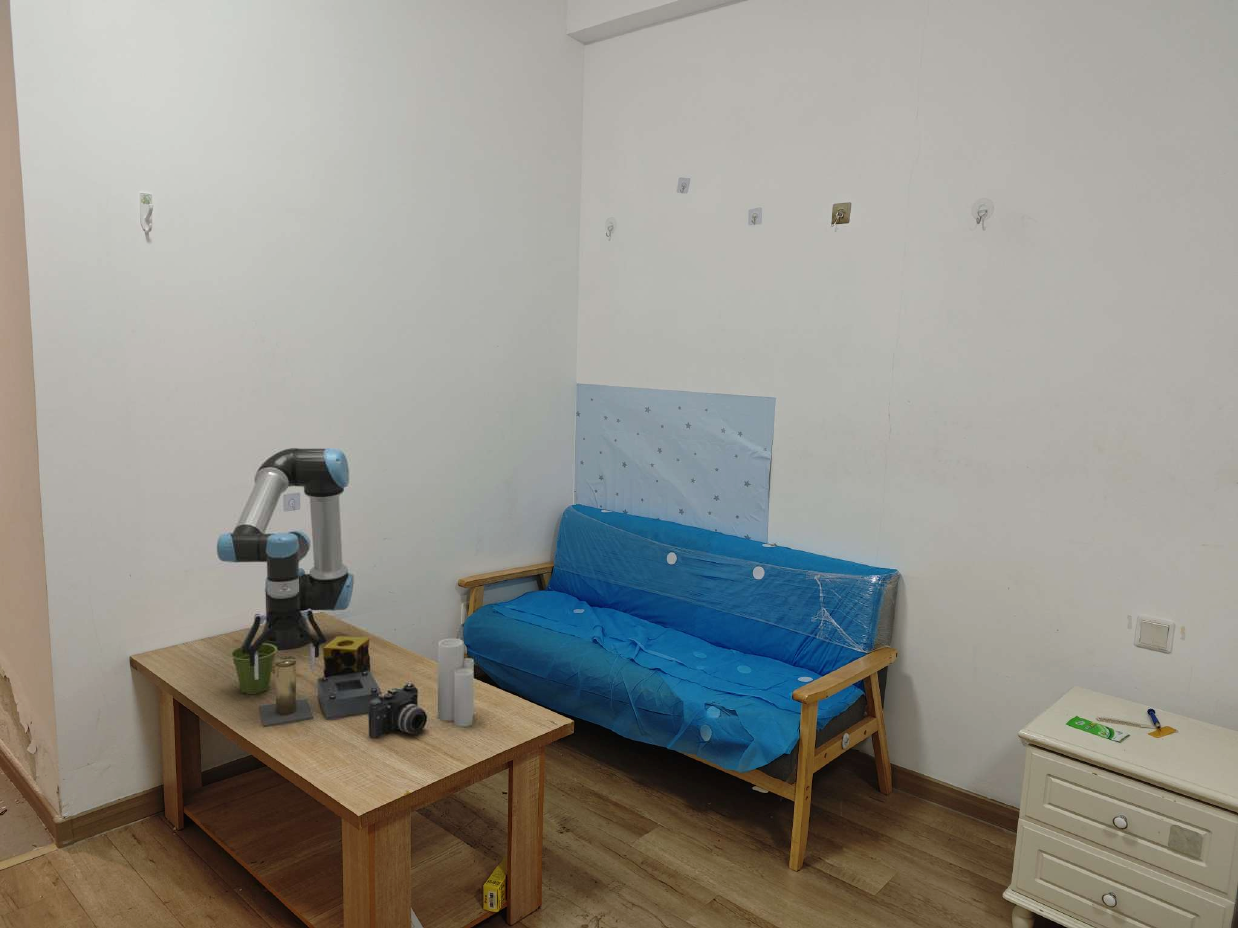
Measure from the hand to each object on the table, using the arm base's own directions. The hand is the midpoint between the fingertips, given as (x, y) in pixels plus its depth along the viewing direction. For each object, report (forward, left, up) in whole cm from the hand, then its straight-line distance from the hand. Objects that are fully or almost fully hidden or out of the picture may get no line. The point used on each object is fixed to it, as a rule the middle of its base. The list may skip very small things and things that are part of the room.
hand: (285, 673), depth 213 cm
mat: (0, 0, -11) cm, 11 cm away
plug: (0, 0, -10) cm, 10 cm away
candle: (-20, +19, -11) cm, 30 cm away
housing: (0, +16, -11) cm, 19 cm away
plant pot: (-19, -6, -11) cm, 23 cm away
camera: (+21, +25, -11) cm, 35 cm away
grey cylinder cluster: (+20, +40, -11) cm, 46 cm away
